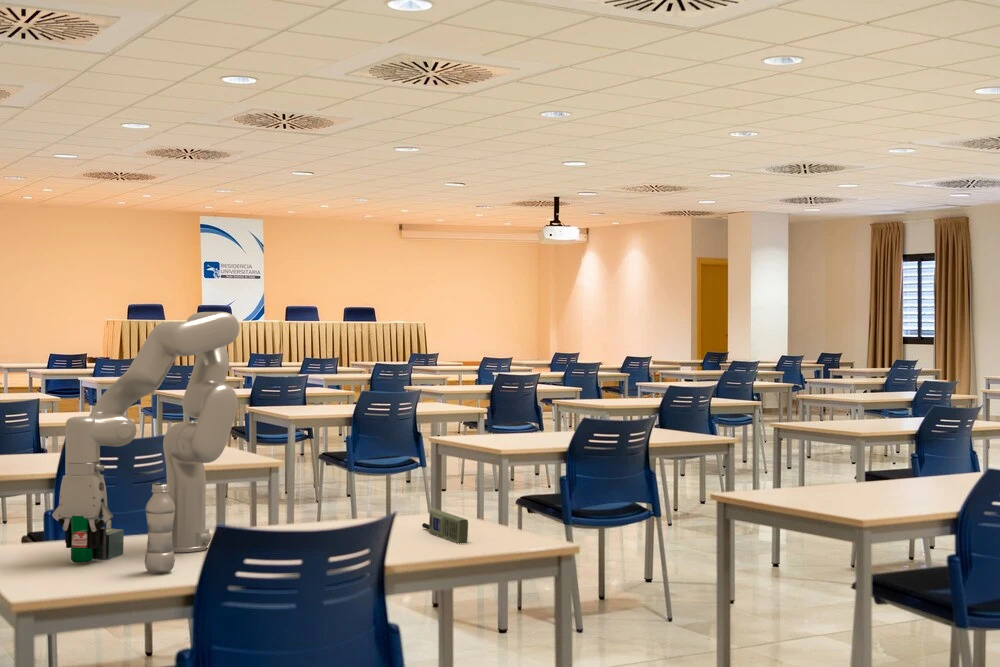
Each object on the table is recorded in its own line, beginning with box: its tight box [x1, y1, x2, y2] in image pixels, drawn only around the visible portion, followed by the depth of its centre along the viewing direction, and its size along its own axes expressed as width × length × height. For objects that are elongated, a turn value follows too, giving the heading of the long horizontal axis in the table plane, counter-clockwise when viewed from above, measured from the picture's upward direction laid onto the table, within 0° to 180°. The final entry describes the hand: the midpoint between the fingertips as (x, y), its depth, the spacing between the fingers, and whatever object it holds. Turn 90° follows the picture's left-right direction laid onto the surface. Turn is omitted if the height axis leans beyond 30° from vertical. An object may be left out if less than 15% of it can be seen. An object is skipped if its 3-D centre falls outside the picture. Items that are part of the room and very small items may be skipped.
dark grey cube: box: [102, 528, 125, 561], centre depth 269 cm, size 7×7×6 cm
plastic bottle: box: [144, 482, 176, 574], centre depth 251 cm, size 6×7×20 cm
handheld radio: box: [421, 507, 469, 545], centre depth 300 cm, size 7×3×25 cm
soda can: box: [70, 514, 95, 564], centre depth 260 cm, size 5×5×12 cm
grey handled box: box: [93, 519, 112, 560], centre depth 267 cm, size 10×8×8 cm
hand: (82, 546), depth 260 cm, fingers closed on soda can, 5 cm apart
